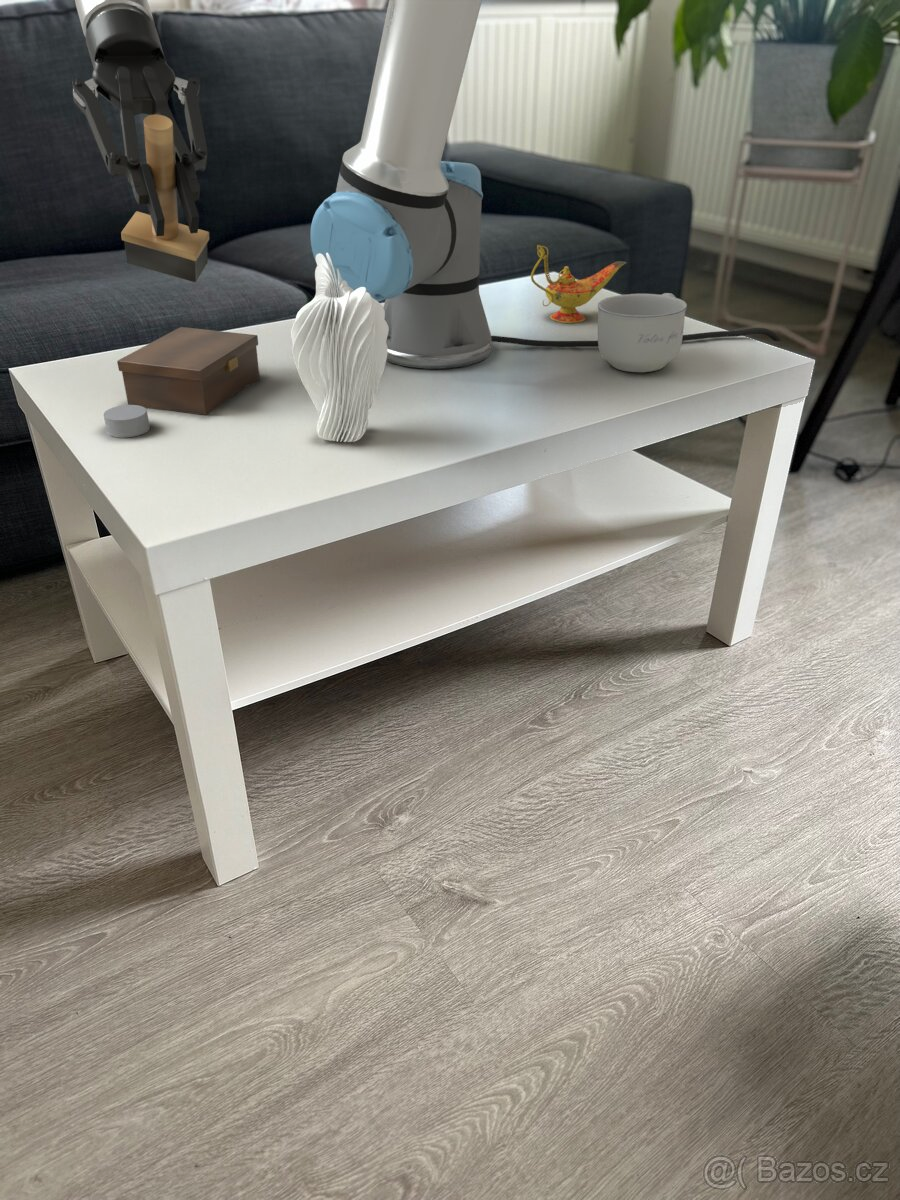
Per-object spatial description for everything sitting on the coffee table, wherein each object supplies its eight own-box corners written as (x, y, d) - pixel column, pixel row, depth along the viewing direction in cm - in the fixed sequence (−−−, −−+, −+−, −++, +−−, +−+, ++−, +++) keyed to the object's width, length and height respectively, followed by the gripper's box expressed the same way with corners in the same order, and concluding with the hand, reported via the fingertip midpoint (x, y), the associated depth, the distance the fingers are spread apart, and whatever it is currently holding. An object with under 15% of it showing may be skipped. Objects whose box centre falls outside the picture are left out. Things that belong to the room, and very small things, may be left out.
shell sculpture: (375, 454, 94) (368, 272, 85) (297, 448, 95) (281, 267, 86) (393, 424, 101) (389, 252, 91) (320, 418, 102) (308, 248, 93)
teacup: (641, 386, 112) (649, 319, 108) (574, 363, 119) (580, 299, 114) (710, 361, 120) (720, 299, 115) (643, 342, 126) (651, 281, 122)
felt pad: (116, 423, 96) (120, 441, 97) (154, 412, 98) (157, 429, 99) (95, 412, 98) (99, 429, 99) (132, 401, 101) (136, 418, 102)
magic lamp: (636, 312, 138) (645, 234, 133) (543, 331, 130) (549, 249, 124) (605, 301, 143) (612, 226, 137) (513, 320, 135) (517, 240, 129)
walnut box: (263, 377, 113) (259, 335, 111) (208, 416, 103) (202, 370, 100) (186, 368, 116) (180, 326, 113) (125, 405, 105) (116, 360, 102)
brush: (210, 262, 107) (206, 123, 94) (196, 284, 105) (191, 145, 91) (139, 241, 107) (125, 99, 94) (124, 263, 104) (107, 120, 91)
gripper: (192, 59, 106) (248, 241, 102) (45, 62, 100) (99, 255, 96) (197, 4, 99) (257, 197, 95) (38, 4, 93) (96, 209, 89)
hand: (177, 226), depth 96 cm, fingers closed on brush, 3 cm apart
